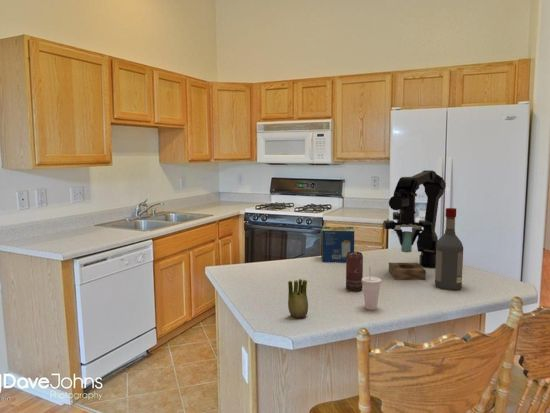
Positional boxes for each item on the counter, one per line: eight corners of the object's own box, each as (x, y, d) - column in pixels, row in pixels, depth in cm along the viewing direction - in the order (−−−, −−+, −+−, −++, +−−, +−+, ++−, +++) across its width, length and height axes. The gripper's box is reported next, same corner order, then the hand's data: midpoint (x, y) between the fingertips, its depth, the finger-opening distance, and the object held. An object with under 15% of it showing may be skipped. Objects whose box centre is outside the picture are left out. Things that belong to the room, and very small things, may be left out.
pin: (412, 252, 168) (413, 233, 167) (402, 252, 168) (403, 233, 167) (409, 250, 172) (410, 231, 171) (400, 250, 172) (400, 231, 171)
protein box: (322, 257, 205) (322, 226, 203) (353, 257, 202) (353, 226, 200) (321, 262, 194) (321, 230, 192) (354, 263, 192) (354, 230, 190)
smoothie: (358, 304, 138) (359, 264, 137) (377, 303, 139) (378, 263, 137) (364, 311, 132) (365, 269, 130) (383, 310, 133) (384, 268, 131)
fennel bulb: (287, 318, 128) (286, 280, 126) (292, 312, 132) (291, 276, 131) (304, 320, 126) (304, 282, 124) (309, 314, 130) (309, 278, 129)
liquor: (435, 288, 154) (438, 209, 150) (434, 281, 162) (437, 206, 159) (461, 291, 151) (465, 210, 147) (459, 284, 159) (463, 207, 155)
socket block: (416, 271, 177) (417, 262, 176) (425, 280, 165) (425, 270, 164) (388, 271, 177) (388, 262, 177) (395, 279, 165) (395, 270, 165)
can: (361, 286, 157) (361, 251, 156) (363, 292, 151) (363, 255, 149) (345, 286, 158) (345, 250, 156) (346, 291, 152) (346, 254, 150)
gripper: (424, 205, 175) (423, 241, 177) (380, 205, 176) (379, 241, 178) (433, 208, 164) (431, 246, 166) (386, 208, 165) (385, 246, 167)
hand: (406, 245), depth 170 cm, fingers closed on pin, 4 cm apart
